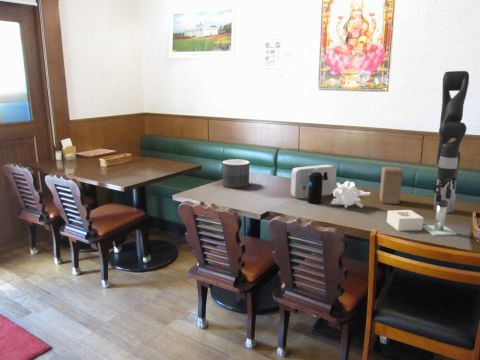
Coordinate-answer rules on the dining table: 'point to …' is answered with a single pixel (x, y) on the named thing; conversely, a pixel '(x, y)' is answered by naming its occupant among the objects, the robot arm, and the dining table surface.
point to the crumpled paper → (347, 194)
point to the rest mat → (438, 233)
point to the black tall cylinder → (315, 187)
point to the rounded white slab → (302, 180)
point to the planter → (235, 173)
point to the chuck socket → (405, 220)
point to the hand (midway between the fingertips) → (443, 200)
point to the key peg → (440, 215)
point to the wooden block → (390, 185)
